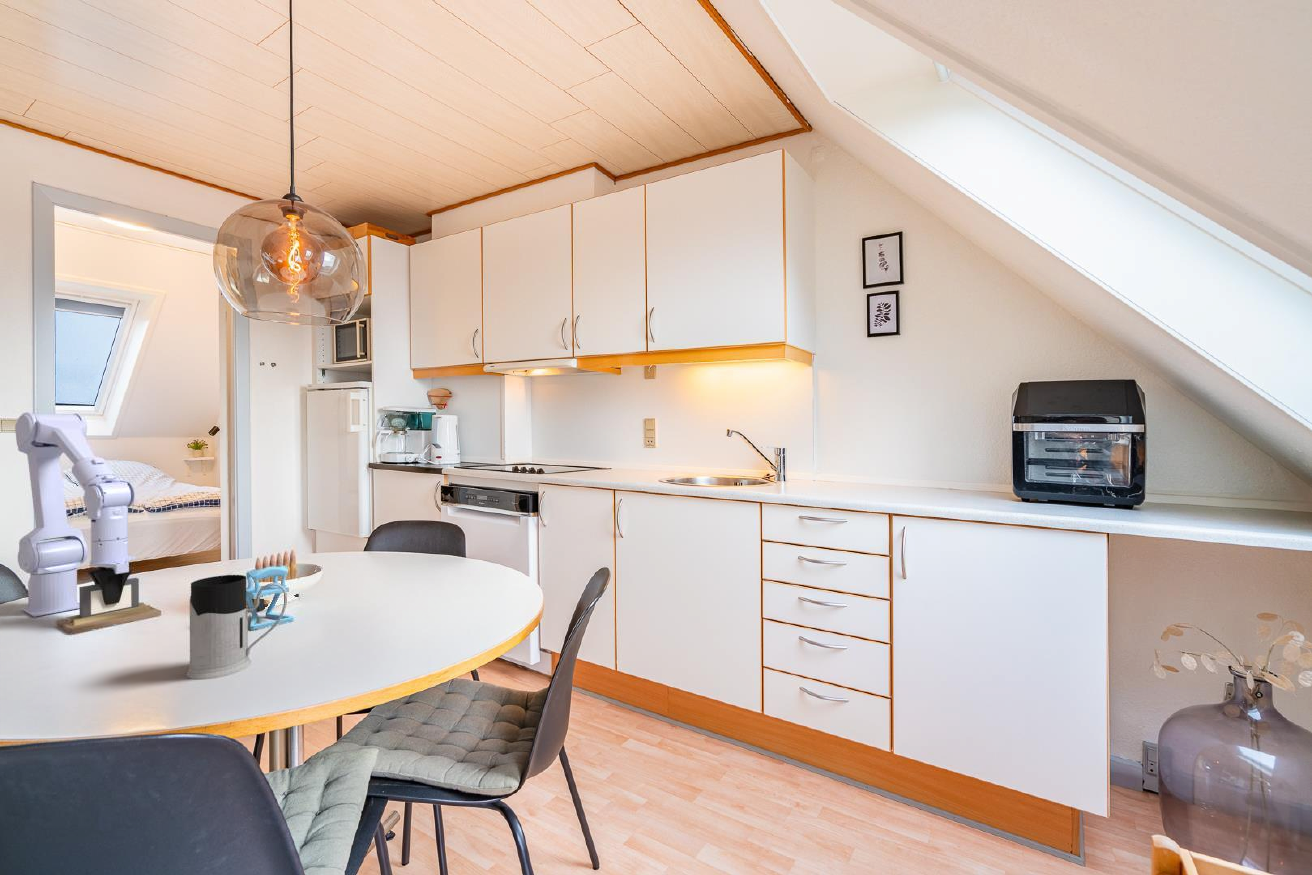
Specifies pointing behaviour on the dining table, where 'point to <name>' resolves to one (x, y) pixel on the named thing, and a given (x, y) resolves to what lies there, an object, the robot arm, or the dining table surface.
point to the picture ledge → (107, 619)
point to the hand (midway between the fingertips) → (110, 602)
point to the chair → (269, 590)
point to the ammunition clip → (290, 575)
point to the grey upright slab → (95, 604)
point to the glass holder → (221, 626)
